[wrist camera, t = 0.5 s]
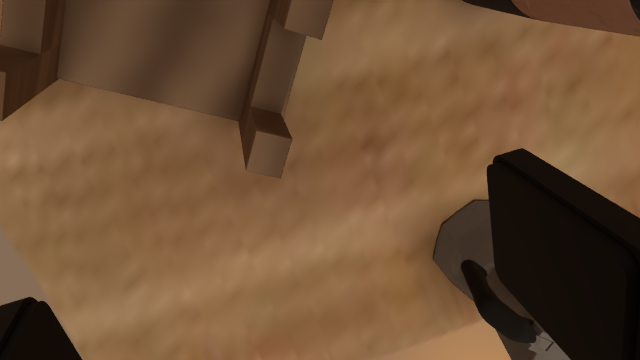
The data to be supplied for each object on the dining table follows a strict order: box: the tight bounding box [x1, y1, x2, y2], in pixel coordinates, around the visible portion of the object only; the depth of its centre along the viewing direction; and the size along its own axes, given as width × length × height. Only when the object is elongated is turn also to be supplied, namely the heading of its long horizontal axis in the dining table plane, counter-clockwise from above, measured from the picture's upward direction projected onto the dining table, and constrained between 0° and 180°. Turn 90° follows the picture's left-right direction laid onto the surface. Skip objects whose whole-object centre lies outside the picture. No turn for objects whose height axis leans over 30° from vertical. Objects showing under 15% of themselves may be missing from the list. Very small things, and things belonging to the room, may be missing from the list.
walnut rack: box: [0, 0, 333, 178], centre depth 28 cm, size 18×10×10 cm, turn 72°
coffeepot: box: [433, 200, 570, 360], centre depth 37 cm, size 15×9×18 cm, turn 59°
